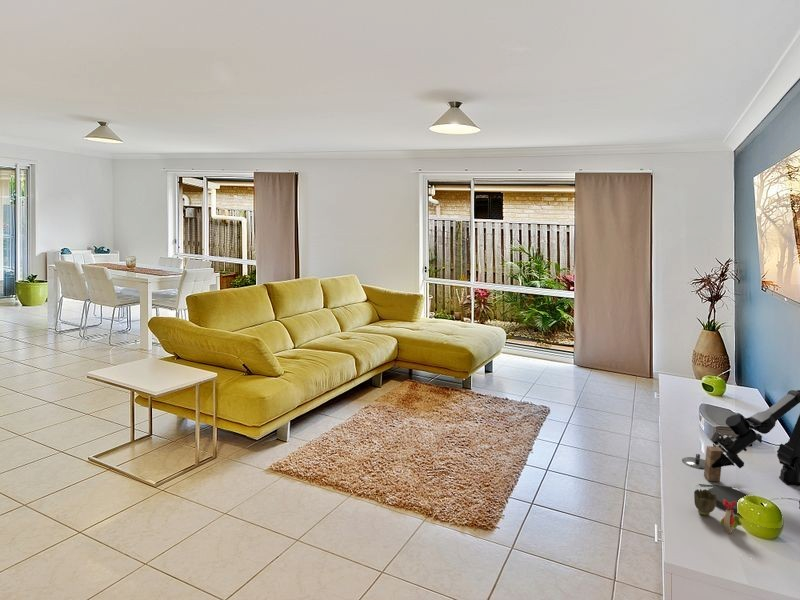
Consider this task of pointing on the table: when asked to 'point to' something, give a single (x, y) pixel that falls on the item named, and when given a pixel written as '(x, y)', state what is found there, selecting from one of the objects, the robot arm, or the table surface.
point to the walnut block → (711, 457)
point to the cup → (704, 501)
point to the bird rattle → (730, 517)
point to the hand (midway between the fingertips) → (709, 464)
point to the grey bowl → (694, 462)
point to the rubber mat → (712, 486)
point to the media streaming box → (726, 496)
